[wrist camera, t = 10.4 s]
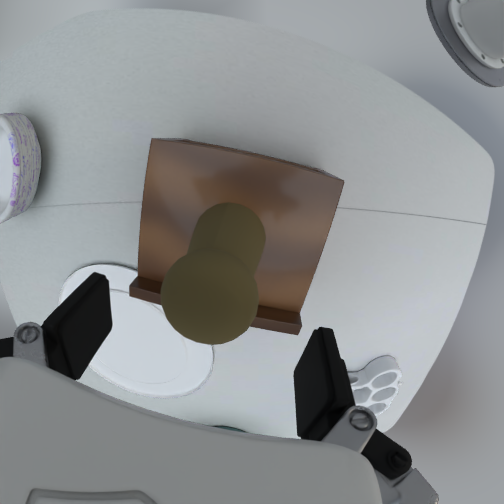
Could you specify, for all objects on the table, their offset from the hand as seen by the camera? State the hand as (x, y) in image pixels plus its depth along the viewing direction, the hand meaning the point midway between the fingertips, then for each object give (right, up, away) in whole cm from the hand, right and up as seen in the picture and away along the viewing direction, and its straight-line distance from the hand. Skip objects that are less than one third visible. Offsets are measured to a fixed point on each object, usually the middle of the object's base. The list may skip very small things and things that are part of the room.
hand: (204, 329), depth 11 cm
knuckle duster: (+22, -22, +31) cm, 43 cm away
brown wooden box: (0, +8, +19) cm, 21 cm away
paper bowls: (-32, +17, +17) cm, 40 cm away
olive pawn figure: (0, +5, +12) cm, 13 cm away
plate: (-18, -11, +28) cm, 35 cm away
